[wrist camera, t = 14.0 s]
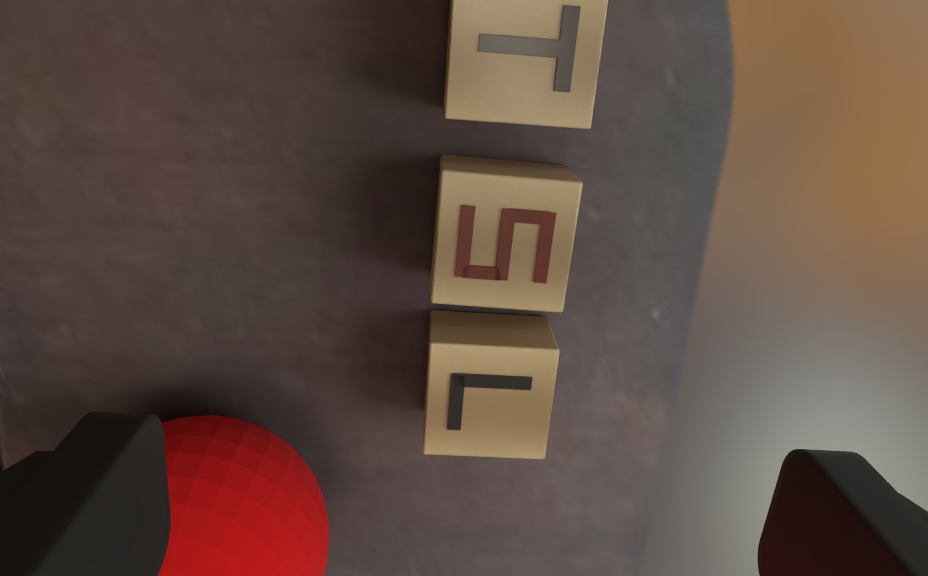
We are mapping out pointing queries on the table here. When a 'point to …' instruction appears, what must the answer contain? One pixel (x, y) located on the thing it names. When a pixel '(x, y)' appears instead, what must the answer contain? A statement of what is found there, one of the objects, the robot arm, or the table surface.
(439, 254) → the tile
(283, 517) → the ornament
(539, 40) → the letter t tile
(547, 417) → the letter l tile
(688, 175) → the table surface
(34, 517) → the robot arm
